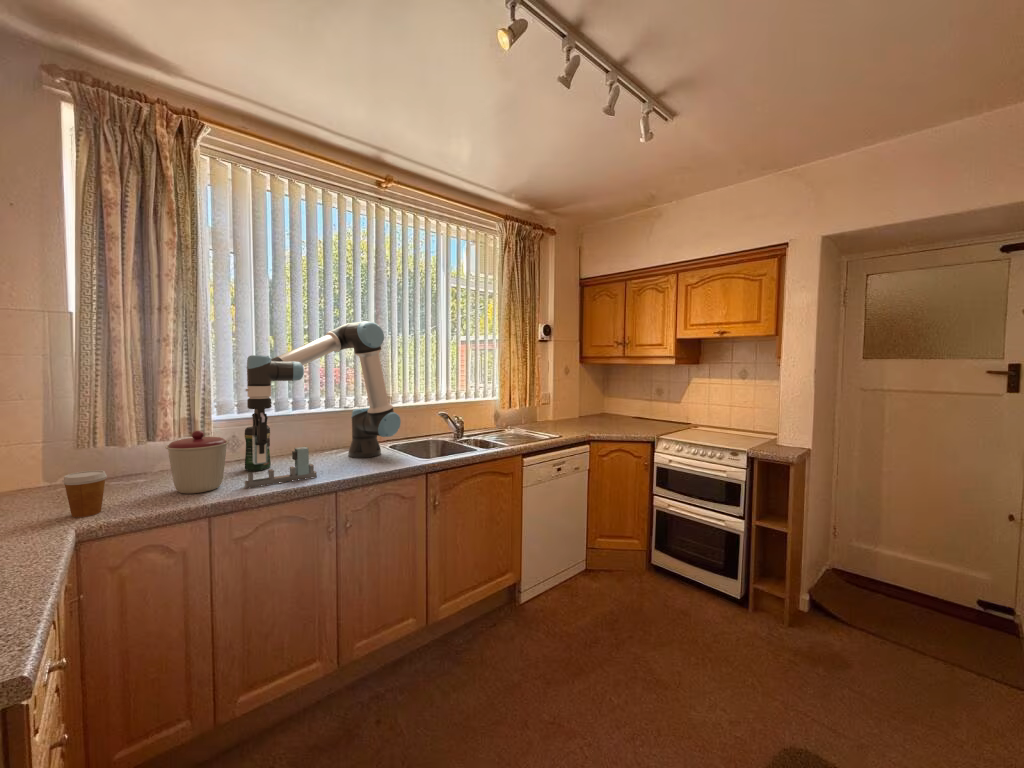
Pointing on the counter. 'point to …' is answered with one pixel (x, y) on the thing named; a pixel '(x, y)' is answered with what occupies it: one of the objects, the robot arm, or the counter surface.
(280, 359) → the robot arm
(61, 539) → the counter surface
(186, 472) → the canister
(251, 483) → the rail
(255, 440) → the grey rectangular block
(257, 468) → the coffee jar
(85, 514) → the disposable coffee cup
